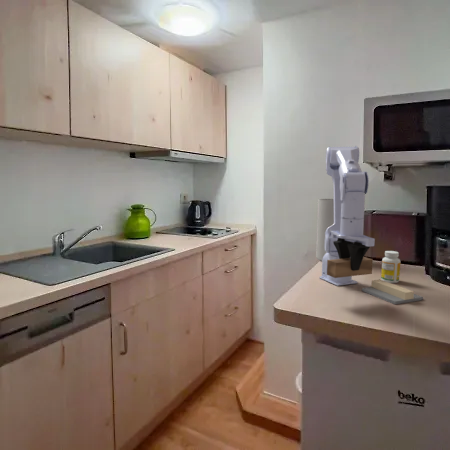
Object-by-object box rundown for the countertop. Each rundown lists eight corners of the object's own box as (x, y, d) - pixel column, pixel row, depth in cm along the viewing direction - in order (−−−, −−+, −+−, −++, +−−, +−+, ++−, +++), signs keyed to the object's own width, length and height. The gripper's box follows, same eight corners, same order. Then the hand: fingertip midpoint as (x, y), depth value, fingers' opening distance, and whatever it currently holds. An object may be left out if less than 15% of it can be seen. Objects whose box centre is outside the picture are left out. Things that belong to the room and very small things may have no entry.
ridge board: (361, 290, 99) (362, 281, 99) (387, 287, 103) (388, 278, 102) (394, 304, 88) (395, 294, 88) (422, 299, 91) (423, 289, 91)
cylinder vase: (309, 257, 143) (311, 199, 140) (332, 255, 148) (334, 198, 145) (330, 264, 132) (332, 200, 129) (354, 261, 137) (357, 199, 134)
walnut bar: (326, 274, 90) (327, 260, 90) (362, 270, 94) (363, 256, 94) (335, 278, 87) (335, 262, 86) (371, 273, 91) (372, 259, 90)
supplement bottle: (386, 283, 106) (388, 253, 105) (377, 278, 112) (379, 250, 111) (402, 283, 107) (404, 253, 106) (392, 278, 112) (394, 250, 111)
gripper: (322, 216, 94) (321, 263, 96) (359, 221, 81) (356, 276, 82) (343, 215, 96) (341, 261, 98) (382, 220, 83) (379, 273, 85)
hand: (349, 268), depth 90 cm, fingers closed on walnut bar, 3 cm apart
